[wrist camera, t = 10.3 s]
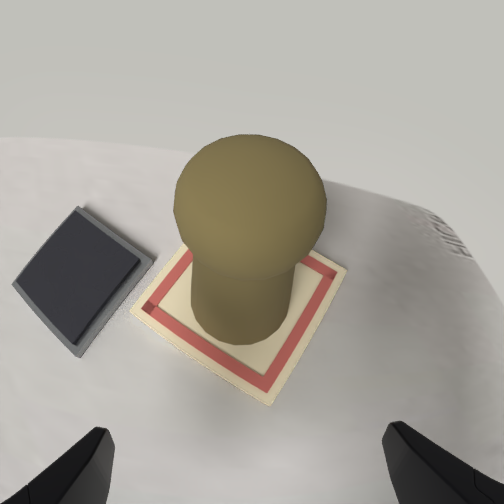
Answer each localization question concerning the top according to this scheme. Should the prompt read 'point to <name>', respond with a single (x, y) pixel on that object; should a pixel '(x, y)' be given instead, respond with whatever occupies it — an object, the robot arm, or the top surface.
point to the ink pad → (80, 279)
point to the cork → (247, 232)
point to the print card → (241, 356)
